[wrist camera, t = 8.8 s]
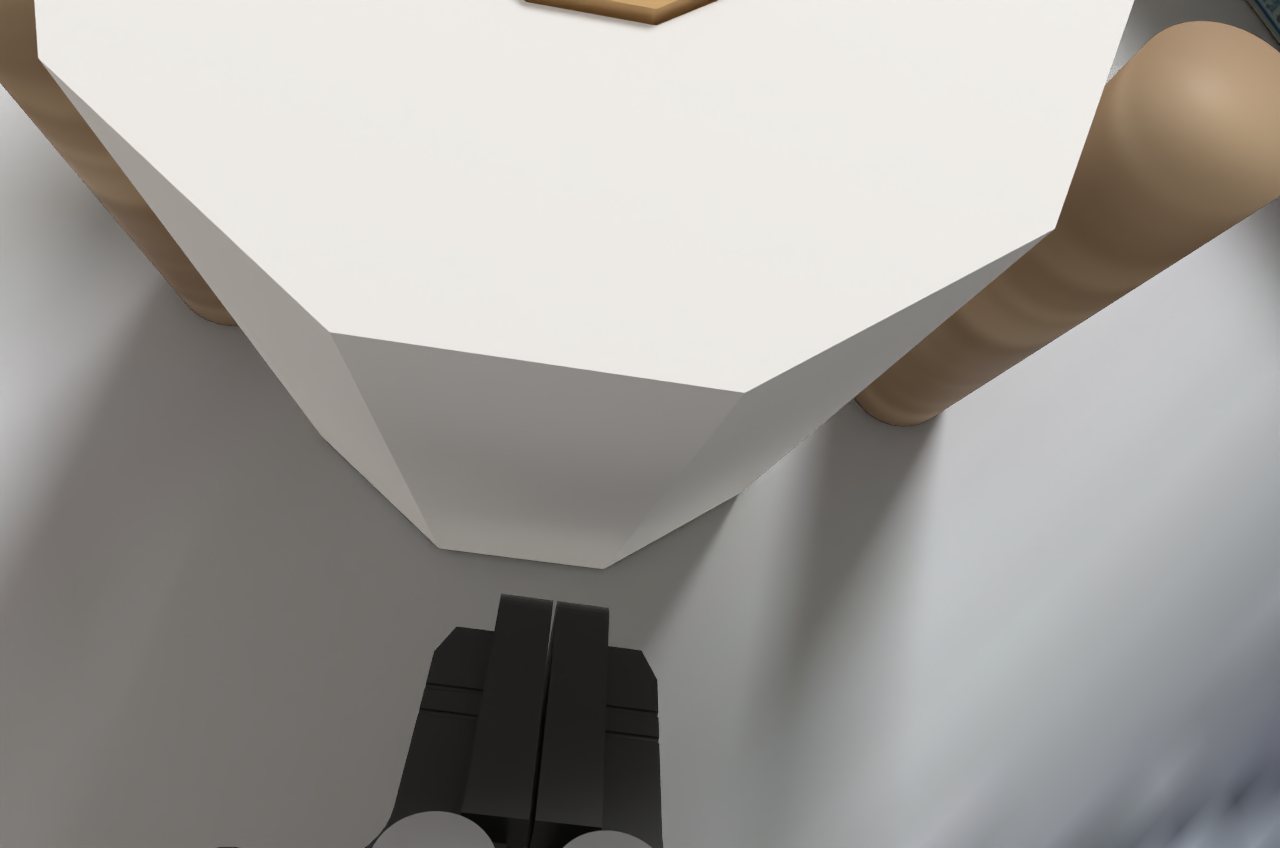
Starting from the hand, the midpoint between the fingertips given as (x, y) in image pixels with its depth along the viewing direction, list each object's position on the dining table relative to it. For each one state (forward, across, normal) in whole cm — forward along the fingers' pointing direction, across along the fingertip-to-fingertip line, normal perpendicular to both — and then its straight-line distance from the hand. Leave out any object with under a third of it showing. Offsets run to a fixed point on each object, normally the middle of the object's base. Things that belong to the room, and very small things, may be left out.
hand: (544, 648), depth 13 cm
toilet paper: (+9, +1, -1) cm, 9 cm away
